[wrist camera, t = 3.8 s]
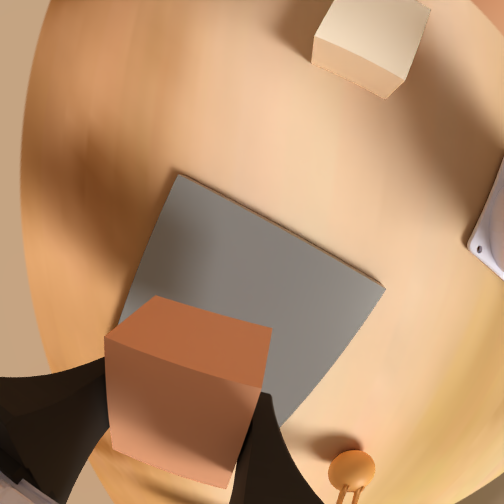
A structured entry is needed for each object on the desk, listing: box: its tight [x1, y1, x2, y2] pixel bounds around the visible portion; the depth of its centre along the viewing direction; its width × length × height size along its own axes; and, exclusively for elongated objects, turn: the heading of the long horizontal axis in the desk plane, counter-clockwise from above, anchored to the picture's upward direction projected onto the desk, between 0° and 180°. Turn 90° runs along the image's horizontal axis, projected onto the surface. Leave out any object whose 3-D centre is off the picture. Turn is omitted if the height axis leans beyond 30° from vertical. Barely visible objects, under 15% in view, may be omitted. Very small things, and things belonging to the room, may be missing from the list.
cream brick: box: [311, 0, 431, 100], centre depth 13 cm, size 5×6×4 cm
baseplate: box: [118, 174, 386, 428], centre depth 19 cm, size 14×14×1 cm
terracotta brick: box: [104, 295, 272, 489], centre depth 11 cm, size 5×6×4 cm
